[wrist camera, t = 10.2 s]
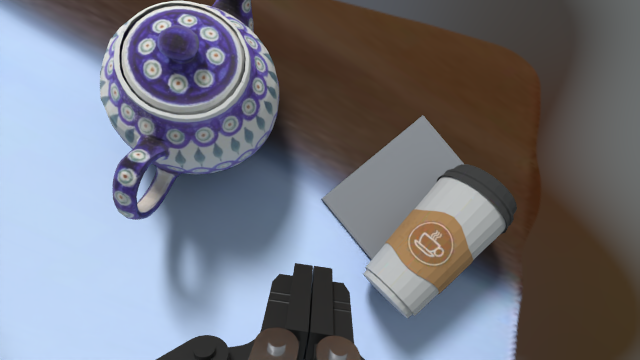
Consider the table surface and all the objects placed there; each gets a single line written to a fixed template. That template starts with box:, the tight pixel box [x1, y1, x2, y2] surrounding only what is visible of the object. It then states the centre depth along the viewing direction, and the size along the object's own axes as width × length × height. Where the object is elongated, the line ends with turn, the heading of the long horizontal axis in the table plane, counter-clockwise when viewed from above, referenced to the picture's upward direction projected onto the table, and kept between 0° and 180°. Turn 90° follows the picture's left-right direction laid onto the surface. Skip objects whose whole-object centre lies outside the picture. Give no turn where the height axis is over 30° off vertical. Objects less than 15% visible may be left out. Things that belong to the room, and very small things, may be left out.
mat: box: [322, 116, 464, 260], centre depth 41 cm, size 16×14×1 cm
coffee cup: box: [363, 164, 517, 318], centre depth 36 cm, size 8×8×15 cm
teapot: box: [100, 0, 279, 220], centre depth 32 cm, size 25×15×15 cm, turn 157°
